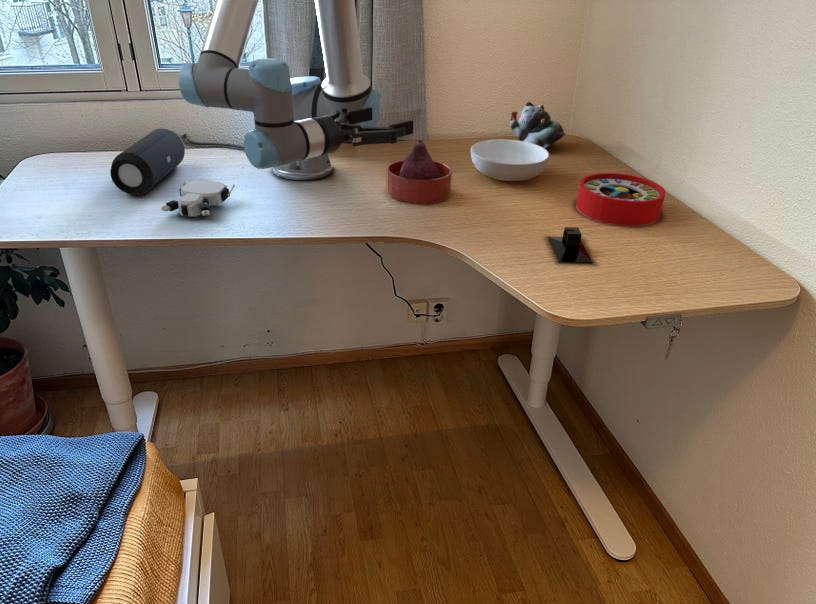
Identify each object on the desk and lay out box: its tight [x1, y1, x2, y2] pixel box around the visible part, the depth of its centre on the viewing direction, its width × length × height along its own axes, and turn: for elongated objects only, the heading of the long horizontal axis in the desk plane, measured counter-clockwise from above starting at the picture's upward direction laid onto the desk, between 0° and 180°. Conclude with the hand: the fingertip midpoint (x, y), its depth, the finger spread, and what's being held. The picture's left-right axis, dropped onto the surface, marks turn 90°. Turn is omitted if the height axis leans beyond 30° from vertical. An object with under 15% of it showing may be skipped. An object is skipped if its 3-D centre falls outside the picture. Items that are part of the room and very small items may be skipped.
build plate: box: [547, 226, 594, 265], centre depth 139 cm, size 12×7×5 cm, turn 1°
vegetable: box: [399, 139, 439, 180], centre depth 160 cm, size 10×10×15 cm
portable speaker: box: [109, 128, 186, 195], centre depth 163 cm, size 26×10×10 cm, turn 176°
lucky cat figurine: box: [509, 101, 566, 150], centre depth 199 cm, size 15×12×14 cm
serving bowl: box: [470, 138, 550, 182], centre depth 176 cm, size 21×21×7 cm
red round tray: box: [385, 159, 453, 205], centre depth 163 cm, size 16×16×6 cm
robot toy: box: [160, 179, 236, 217], centre depth 150 cm, size 12×4×15 cm
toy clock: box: [575, 172, 666, 227], centre depth 159 cm, size 20×6×20 cm
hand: (391, 120), depth 148 cm, fingers open, 13 cm apart
